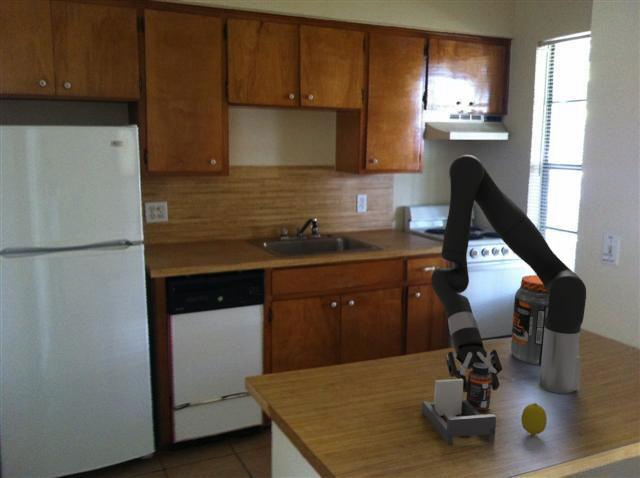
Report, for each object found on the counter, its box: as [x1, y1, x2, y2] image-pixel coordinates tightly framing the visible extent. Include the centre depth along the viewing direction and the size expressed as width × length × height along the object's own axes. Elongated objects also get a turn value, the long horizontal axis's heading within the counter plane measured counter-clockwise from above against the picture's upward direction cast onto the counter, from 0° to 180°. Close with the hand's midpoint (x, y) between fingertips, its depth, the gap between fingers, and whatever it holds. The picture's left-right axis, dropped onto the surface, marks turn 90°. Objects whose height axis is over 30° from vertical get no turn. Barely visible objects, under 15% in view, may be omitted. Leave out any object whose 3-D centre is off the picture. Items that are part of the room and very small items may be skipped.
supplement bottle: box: [465, 363, 492, 412], centre depth 149 cm, size 6×6×11 cm
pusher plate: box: [433, 378, 463, 420], centre depth 139 cm, size 7×11×9 cm, turn 11°
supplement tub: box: [510, 274, 549, 366], centre depth 184 cm, size 16×16×26 cm
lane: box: [421, 397, 497, 446], centre depth 139 cm, size 11×16×6 cm
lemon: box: [521, 402, 547, 437], centre depth 135 cm, size 6×6×8 cm
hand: (481, 390), depth 148 cm, fingers open, 7 cm apart
